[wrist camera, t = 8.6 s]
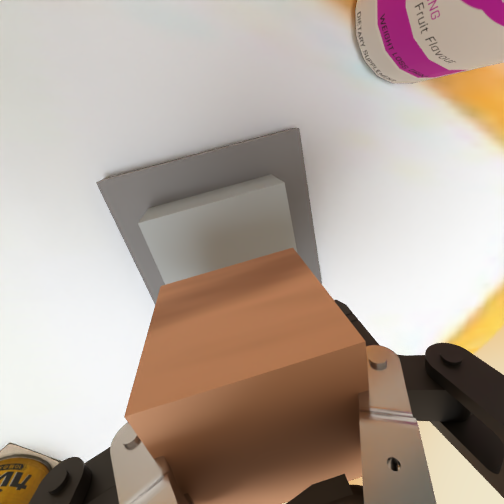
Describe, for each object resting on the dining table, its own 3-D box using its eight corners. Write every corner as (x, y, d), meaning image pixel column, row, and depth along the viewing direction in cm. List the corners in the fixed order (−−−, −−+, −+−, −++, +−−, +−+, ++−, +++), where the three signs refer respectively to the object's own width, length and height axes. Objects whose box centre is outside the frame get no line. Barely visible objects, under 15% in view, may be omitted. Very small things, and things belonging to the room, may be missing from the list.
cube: (160, 286, 12) (124, 416, 6) (292, 247, 12) (365, 341, 7) (203, 379, 14) (203, 530, 9) (311, 346, 15) (375, 471, 9)
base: (103, 178, 19) (73, 193, 15) (292, 128, 20) (318, 127, 16) (173, 328, 25) (167, 371, 21) (316, 285, 26) (341, 317, 22)
